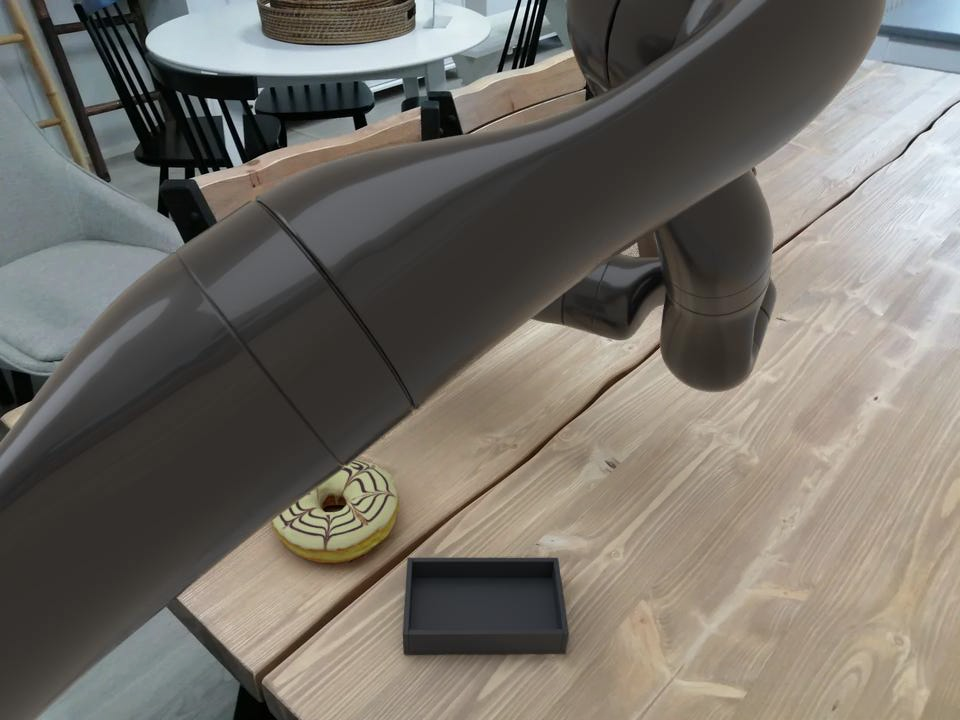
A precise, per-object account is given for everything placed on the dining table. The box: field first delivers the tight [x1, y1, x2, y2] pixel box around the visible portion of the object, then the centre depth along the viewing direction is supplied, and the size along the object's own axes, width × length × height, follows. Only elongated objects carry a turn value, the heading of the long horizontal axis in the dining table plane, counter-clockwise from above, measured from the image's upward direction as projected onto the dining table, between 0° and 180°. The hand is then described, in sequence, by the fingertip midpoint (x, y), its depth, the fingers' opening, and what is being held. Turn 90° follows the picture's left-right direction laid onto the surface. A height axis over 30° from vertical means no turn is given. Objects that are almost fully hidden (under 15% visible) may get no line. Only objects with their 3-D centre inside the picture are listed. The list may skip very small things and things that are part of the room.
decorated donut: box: [270, 459, 400, 564], centre depth 62 cm, size 10×11×4 cm
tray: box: [402, 557, 570, 656], centre depth 56 cm, size 12×7×2 cm, turn 92°
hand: (369, 230), depth 70 cm, fingers closed on cup, 6 cm apart
